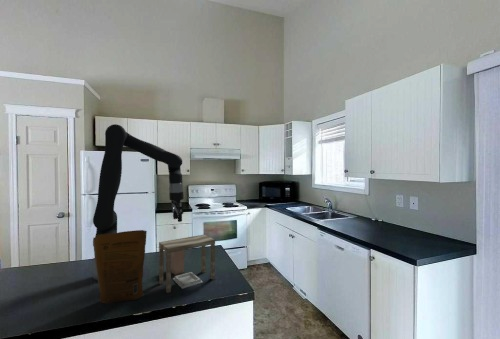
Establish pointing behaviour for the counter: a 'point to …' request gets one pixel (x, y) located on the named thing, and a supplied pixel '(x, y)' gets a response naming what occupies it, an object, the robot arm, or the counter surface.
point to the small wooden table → (184, 245)
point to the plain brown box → (177, 262)
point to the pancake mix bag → (120, 265)
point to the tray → (187, 280)
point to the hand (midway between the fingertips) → (177, 220)
